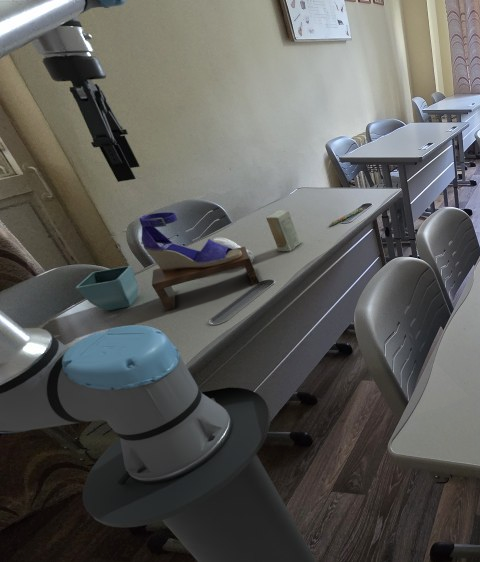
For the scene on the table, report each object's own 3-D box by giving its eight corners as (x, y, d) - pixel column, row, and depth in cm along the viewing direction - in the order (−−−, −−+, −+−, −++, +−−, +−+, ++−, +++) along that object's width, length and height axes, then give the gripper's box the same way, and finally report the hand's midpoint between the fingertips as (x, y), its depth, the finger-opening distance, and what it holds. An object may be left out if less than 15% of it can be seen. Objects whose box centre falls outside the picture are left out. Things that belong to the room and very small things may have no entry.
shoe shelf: (166, 310, 104) (151, 284, 100) (167, 294, 111) (153, 269, 107) (259, 282, 115) (249, 258, 110) (254, 269, 122) (244, 246, 118)
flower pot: (94, 317, 103) (73, 287, 98) (110, 299, 110) (92, 271, 106) (134, 309, 105) (116, 280, 101) (147, 293, 112) (131, 265, 108)
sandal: (236, 264, 107) (212, 211, 100) (153, 275, 104) (123, 222, 96) (245, 251, 114) (224, 201, 107) (168, 261, 111) (141, 210, 103)
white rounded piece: (217, 233, 124) (254, 236, 124) (225, 257, 129) (261, 260, 128) (202, 242, 119) (241, 245, 118) (212, 267, 123) (249, 270, 123)
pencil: (330, 227, 149) (363, 210, 162) (330, 224, 148) (362, 207, 162) (328, 226, 149) (360, 210, 163) (327, 224, 148) (360, 207, 162)
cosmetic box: (289, 243, 138) (277, 209, 131) (300, 243, 137) (289, 209, 131) (277, 251, 132) (264, 217, 126) (289, 252, 132) (277, 217, 125)
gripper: (85, 52, 65) (149, 182, 75) (104, 56, 82) (154, 160, 93) (20, 55, 61) (97, 190, 72) (55, 58, 79) (112, 166, 89)
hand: (129, 173), depth 82 cm, fingers open, 13 cm apart
